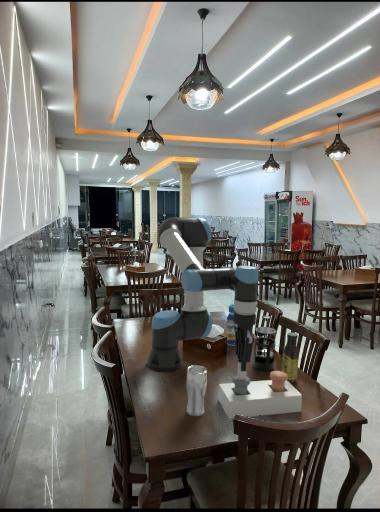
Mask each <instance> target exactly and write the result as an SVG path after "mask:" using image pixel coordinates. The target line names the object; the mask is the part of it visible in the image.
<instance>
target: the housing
mask: <svg viewBox="0 0 380 512" xmlns="http://www.w3.org/2000/svg"><path fill="white" fill-rule="evenodd" d="M234 388H235V384H234V383H233V382H229V383H228V382H227V383H219V384H218V398H217V399H218V401H219V404H220V406H221V407H222V408H223V410H224V412H225V414H226V416H227V418H228V419H234V418H233V417H234V415H235V414H239V415H243V416H248V417H247V418H250V417H251V418H252V417H259V415H261V416H270V415H280V414H290V413H291V414H292V413H299V412H302V400H303V395H302V393H301V392H299V391H298V390H297V388H295V387H294V386H293V384H292V383H289V382H288V381H287V380H286V381H285V387H284V392H274V391H273V390H272V379H270V380H269V379H268V380H257V381H256V380H255V381H250V384H249V385H248V386H247V395H238V396H236V395H235V393H234Z"/></svg>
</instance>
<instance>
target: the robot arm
mask: <svg viewBox="0 0 380 512" xmlns="http://www.w3.org/2000/svg"><path fill="white" fill-rule="evenodd" d="M157 239H158V242H159V244H160V245H161V246H162V248H164V249H166V251H167V252H168V253H169V255H170V256H171V258H172V259H173V261H174V263H175V265H176V266H177V268H178V269H179V270H180V272H181V276H180V284H181V287H182V289H183V294H184V301H183V302H184V303H183V304H184V305H183V306H182V307H181V308H180V311H181V312H180V313H179V312H178V311H177V310H174V309H172V310H171V309H170V310H169V309H167V310H161V311H158V312H156V313H154V315H153V316H152V321H151V348H150V351H149V354H148V357H147V361H146V366H147V367H148V368H149V369H150V370H151V371H155V372H161V373H169V372H175V371H177V370H179V369H180V368H181V367H182V364H183V361H182V360H183V359H182V356H181V353H180V349H179V342H180V341H188V340H194V339H196V340H199V339H203V338H206V337H208V336H209V335H210V334H211V332H212V328H213V318H212V314H211V313H210V311H208V308H207V307H206V305H205V303H204V292H206V291H221V290H222V291H223V290H230V291H233V292H234V299H233V304H234V311H235V312H234V318H233V322H234V323H235V324H236V325H237V327H234V330H235V346H234V348H235V356H237V357H236V358H237V373H236V375H237V378H238V380H244V379H246V376H247V369H248V368H247V367H248V363H250V362H251V358H252V352H253V347H254V346H253V345H254V344H255V339H256V338H255V337H253V336H252V333H253V331H252V327H253V326H255V325H256V322H257V313H256V312H257V306H258V302H257V301H258V290H259V289H258V288H259V270H258V267H256V266H250V265H238V266H236V268H235V267H232V266H222V267H220V268H204V251H205V249H207V244H209V243H210V242H211V239H212V229H211V226H210V224H209V222H208V221H207V220H206V219H205V218H202V217H196V216H195V217H186V216H185V217H184V216H183V217H179V216H178V217H177V216H173V217H169V218H167V219H165V220H164V221H162V222H161V224H160V226H159V227H158V230H157Z"/></svg>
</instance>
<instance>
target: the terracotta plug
mask: <svg viewBox="0 0 380 512" xmlns="http://www.w3.org/2000/svg"><path fill="white" fill-rule="evenodd" d="M269 378H270V380H272V390H273V391H274V392H284V387H285V381H286V380H287V378H288V375H287V374H286V373H284V372H281V371H280V370H272V371H270V373H269Z"/></svg>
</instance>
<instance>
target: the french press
mask: <svg viewBox="0 0 380 512" xmlns="http://www.w3.org/2000/svg"><path fill="white" fill-rule="evenodd" d="M261 318H262V319H263V320H265V326H259V327H256V328H255V331H256V332H255V335H256V336H257V337H256V338H254V339H255V340H254V346H253V347H254V349H253V350H254V351H253V364H252V367H253V368H254V369H255V370H257V371H260V372H272V371H275V356H276V355H275V354H276V353H275V352H276V344H277V343H276V340H275V339H274V338H275V337H276V333H277V330H276V329H275V328H272V327H267V323H268V320H271V319H272V317H271V315H270V316H269V315H262V316H261ZM267 335H271V336H272V337H274V338H270V337H267ZM267 341H268V342H271V343H270V344H269V343H268V344H266V342H267ZM271 349H272V351H271Z"/></svg>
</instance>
